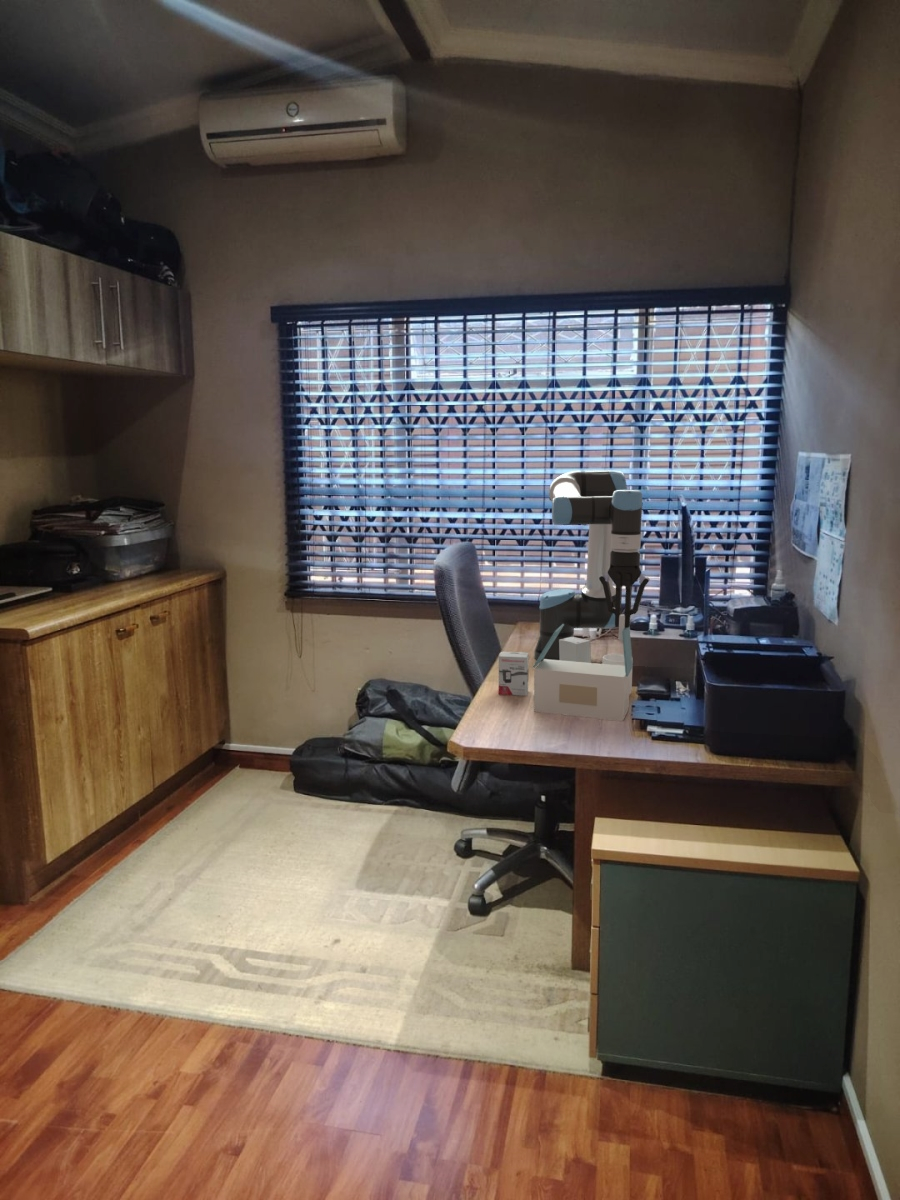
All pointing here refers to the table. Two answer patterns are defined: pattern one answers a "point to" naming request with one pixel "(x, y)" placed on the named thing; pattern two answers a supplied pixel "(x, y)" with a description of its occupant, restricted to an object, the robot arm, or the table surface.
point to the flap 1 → (548, 645)
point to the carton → (581, 689)
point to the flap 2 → (627, 650)
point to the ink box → (513, 673)
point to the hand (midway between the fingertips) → (621, 639)
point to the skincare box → (575, 650)
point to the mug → (617, 663)
